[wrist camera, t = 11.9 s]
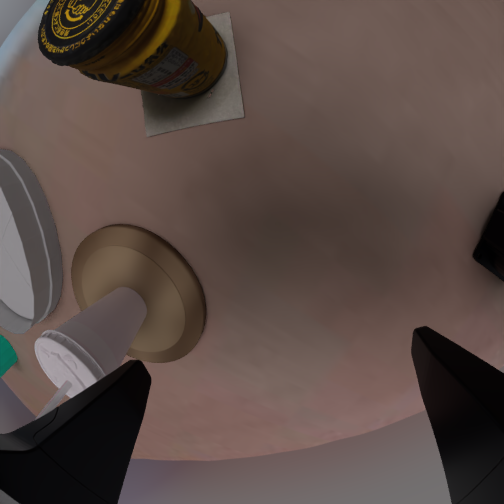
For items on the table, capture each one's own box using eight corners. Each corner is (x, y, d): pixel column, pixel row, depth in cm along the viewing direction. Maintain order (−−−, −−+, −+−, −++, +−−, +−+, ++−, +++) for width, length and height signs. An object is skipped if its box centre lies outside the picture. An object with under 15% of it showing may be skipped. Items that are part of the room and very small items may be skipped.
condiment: (229, 12, 15) (161, -85, 4) (245, 117, 18) (169, 87, 7) (138, 39, 16) (25, -5, 5) (148, 137, 19) (19, 151, 8)
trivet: (228, 266, 22) (225, 272, 21) (185, 375, 28) (181, 383, 27) (84, 200, 22) (76, 203, 21) (75, 316, 27) (70, 322, 26)
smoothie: (112, 330, 25) (30, 430, 13) (92, 271, 23) (-17, 365, 10) (168, 337, 24) (92, 464, 11) (151, 273, 22) (36, 398, 9)
